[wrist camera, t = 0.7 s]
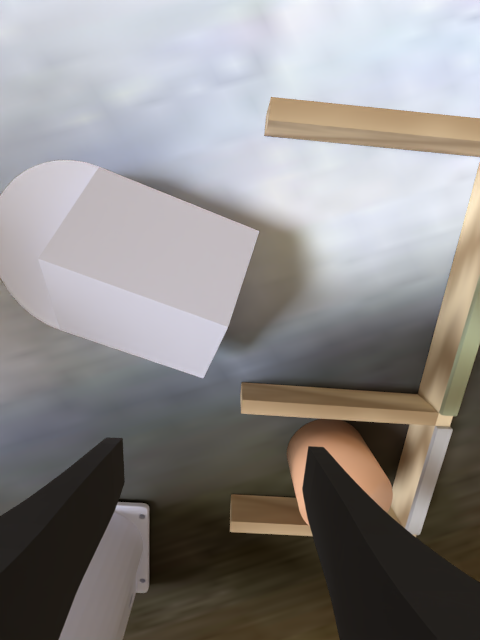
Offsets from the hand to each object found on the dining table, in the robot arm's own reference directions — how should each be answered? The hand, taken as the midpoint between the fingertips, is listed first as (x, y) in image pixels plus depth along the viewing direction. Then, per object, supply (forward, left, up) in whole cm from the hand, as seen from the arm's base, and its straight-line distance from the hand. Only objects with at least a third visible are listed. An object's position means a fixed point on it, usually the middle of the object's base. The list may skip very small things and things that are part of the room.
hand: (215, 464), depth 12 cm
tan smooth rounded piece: (-7, -8, -10) cm, 15 cm away
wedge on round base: (+6, +6, -10) cm, 14 cm away
